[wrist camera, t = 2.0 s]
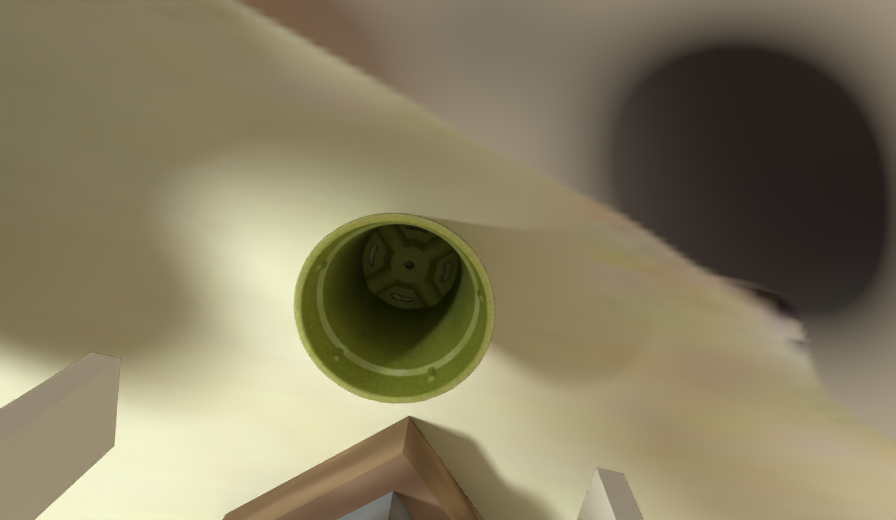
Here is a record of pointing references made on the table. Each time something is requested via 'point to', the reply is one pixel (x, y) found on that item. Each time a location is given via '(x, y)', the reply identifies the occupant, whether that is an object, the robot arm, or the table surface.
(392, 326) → the plant pot
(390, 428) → the pedestal
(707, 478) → the table surface
